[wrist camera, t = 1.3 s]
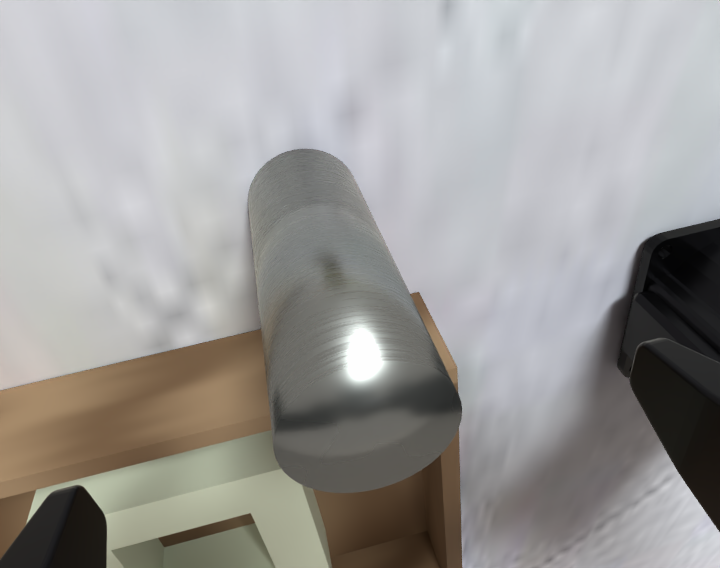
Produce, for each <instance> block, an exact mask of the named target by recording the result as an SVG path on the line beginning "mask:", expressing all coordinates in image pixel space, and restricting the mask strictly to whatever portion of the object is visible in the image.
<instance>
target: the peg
mask: <svg viewBox="0 0 720 568" xmlns="http://www.w3.org/2000/svg"><path fill="white" fill-rule="evenodd" d="M248 210H249V219H250V229H251V238H252V248H253V257H254V267H255V277H256V286H257V296H258V305H259V315H260V324H261V334H262V344H263V353H264V363H265V372H266V382H267V391H268V401H269V411H270V420H271V430H272V439H273V449H274V454H275V458H276V460H277V462H278V464H279V466H280V467H281V469H282V470H283V471H284V473H286V474H287V475H288V476H289V477H290V478H291V479H293V480H294V481H296V482H297V483H299V484H301V485H304V486H306V487H308V488H312V489H315V490H319V491H324V492H332V493H356V492H364V491H370V490H374V489H379V488H382V487H385V486H389V485H392V484H394V483H397V482H399V481H402V480H404V479H406V478H408V477H410V476H412V475H414V474H415V473H417V472H419V471H421V470H422V469H424V468H425V467H426V466H428V465H429V464H431V463H432V462H433V461H434V460H435V459H436V458H438V457H439V456H440V455H441V454H442V453H443V452H444V451H445V449H446V448H447V447H448V446H449V444H450V443H451V441H452V440H453V438H454V437H455V435H456V433H457V430H458V428H459V425H460V421H461V416H462V406H461V401H460V398H459V395H458V392H457V390H456V388H455V386H454V384H453V382H452V380H451V378H450V376H449V374H448V372H447V370H446V368H445V366H444V363H443V361H442V359H441V357H440V355H439V353H438V351H437V349H436V347H435V345H434V343H433V341H432V339H431V337H430V334H429V332H428V330H427V328H426V326H425V324H424V322H423V320H422V318H421V316H420V314H419V312H418V310H417V307H416V305H415V303H414V301H413V299H412V297H411V295H410V293H409V291H408V289H407V287H406V285H405V283H404V281H403V278H402V276H401V274H400V272H399V270H398V268H397V266H396V264H395V262H394V260H393V258H392V256H391V254H390V251H389V249H388V247H387V245H386V243H385V241H384V239H383V237H382V235H381V233H380V231H379V229H378V227H377V225H376V222H375V220H374V218H373V216H372V214H371V212H370V210H369V208H368V206H367V204H366V202H365V200H364V198H363V195H362V193H361V191H360V189H359V187H358V185H357V183H356V181H355V179H354V177H353V175H352V173H351V172H350V170H349V169H348V168H347V166H346V165H345V164H344V163H343V162H341V161H340V160H339V159H337V158H336V157H334V156H332V155H331V154H328V153H326V152H323V151H319V150H314V149H297V150H292V151H288V152H285V153H282V154H280V155H278V156H276V157H274V158H273V159H271V160H270V161H268V162H267V163H266V164H265V165H264V166H263V167H262V168H261V169H260V170H259V171H258V173H257V174H256V176H255V177H254V179H253V181H252V184H251V186H250V189H249V194H248Z"/></svg>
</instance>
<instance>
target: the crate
mask: <svg viewBox="0 0 720 568" xmlns="http://www.w3.org/2000/svg"><path fill="white" fill-rule="evenodd" d="M410 295H411V297H412V299H413V301H414V303H415V305H416V307H417V310H418V312H419V314H420V316H421V318H422V320H423V322H424V324H425V326H426V328H427V330H428V332H429V334H430V337H431V339H432V341H433V343H434V345H435V347H436V349H437V351H438V353H439V355H440V357H441V359H442V361H443V363H444V366H445V368H446V370H447V372H448V374H449V376H450V378H451V380H452V382H453V384H454V386H455V388H456V390H457V392H458V379H457V366H456V364H455V362H454V360H453V358H452V356H451V354H450V352H449V350H448V348H447V346H446V344H445V343H444V341H443V339H442V337H441V335H440V333H439V331H438V329H437V327H436V325H435V323H434V321H433V319H432V317H431V315H430V313H429V311H428V309H427V307H426V305H425V303H424V301H423V299H422V297H421V295H420V293H419V292H417V293H412V294H410ZM269 430H271V420H270V411H269V401H268V391H267V382H266V372H265V363H264V353H263V344H262V334H261V329H260V330H256V331H251V332H247V333H243V334H239V335H234V336H230V337H226V338H222V339H217V340H213V341H209V342H205V343H200V344H196V345H192V346H188V347H183V348H179V349H175V350H171V351H167V352H162V353H158V354H154V355H150V356H145V357H141V358H137V359H133V360H128V361H124V362H120V363H116V364H111V365H107V366H103V367H99V368H94V369H90V370H86V371H82V372H77V373H73V374H69V375H65V376H61V377H56V378H52V379H48V380H44V381H39V382H35V383H31V384H27V385H22V386H18V387H14V388H10V389H5V390H1V391H0V559H1V557H2V556H3V555H4V553H5V552H6V551H7V549H8V548H9V547H10V545H11V544H12V543H13V541H14V540H15V539H16V537H17V536H18V535H19V533H20V532H21V531H22V529H23V528H24V527H25V525H26V523H27V519H28V516H29V512H30V509H31V506H32V502H33V499H34V496H35V492H36V490H37V489H41V488H45V487H49V486H53V485H57V484H61V483H65V482H69V481H73V480H77V479H80V478H84V477H88V476H92V475H96V474H100V473H104V472H108V471H112V470H116V469H120V468H124V467H128V466H132V465H136V464H140V463H143V462H147V461H151V460H155V459H159V458H163V457H167V456H171V455H175V454H179V453H183V452H187V451H191V450H195V449H199V448H202V447H206V446H210V445H214V444H218V443H222V442H226V441H230V440H234V439H238V438H242V437H246V436H250V435H254V434H258V433H262V432H265V431H269ZM313 491H314V494H315V497H316V501H317V504H318V507H319V510H320V514H321V517H322V520H323V523H324V526H325V530H326V536H327V541H328V547H329V553H330V559H331V565H332V568H462V544H461V502H460V461H459V428H458V430H457V433H456V435H455V437H454V438H453V440H452V441H451V443H450V444H449V446H448V447H447V448H446V449H445V451H444V452H443V453H442V454H441V455H440V456H439V457H438V458H436V459H435V460H434V461H433V462H432V463H431V464H429V465H428V466H426V467H425V468H424V469H422V470H421V471H419V472H417V473H415V474H414V475H412V476H410V477H408V478H406V479H404V480H402V481H399V482H397V483H394V484H392V485H389V486H385V487H382V488H379V489H374V490H370V491H364V492H356V493H332V492H324V491H319V490H315V489H313ZM253 523H255V521H254V519H253V517H252V515H251V513H249V514H245V515H241V516H237V517H234V518H230V519H226V520H223V521H219V522H215V523H211V524H208V525H204V526H200V527H196V528H193V529H189V530H185V531H181V532H178V533H174V534H170V535H166V536H163V537H159V538H158V539H159V540H160V542H161V543H162V545H163V546H164V547H168V546H172V545H175V544H179V543H183V542H187V541H190V540H194V539H198V538H201V537H205V536H209V535H212V534H216V533H220V532H224V531H227V530H231V529H235V528H238V527H242V526H246V525H250V524H253Z"/></svg>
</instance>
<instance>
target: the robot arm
mask: <svg viewBox="0 0 720 568" xmlns="http://www.w3.org/2000/svg"><path fill="white" fill-rule="evenodd" d="M662 247H663V248H662ZM617 366H618V368H619V370H620V371H621V372H622V373H623V374H624V376H625V377H630V384H631V388H632V390H633V392H634V394H635V396H636V398H637V399H638V401H639V403H640V405H641V407H642V409H643V410H644V412H645V414H646V416H647V418H648V419H649V421H650V423H651V425H652V427H653V428H654V430H655V432H656V434H657V436H658V437H659V439H660V441H661V443H662V445H663V446H664V448H665V450H666V452H667V454H668V455H669V457H670V459H671V461H672V462H673V464H674V466H675V467H676V469H677V471H678V472H679V474H680V475H681V477H682V478H683V480H684V481H685V483H686V484H687V486H688V487H689V489H690V490H691V492H692V493H693V494H694V496H695V497H696V499H697V500H698V502H699V503H700V504H701V506H702V507H703V509H704V510H705V512H706V513H707V514H708V516H709V517H710V519H711V520H712V522H713V523H714V525H715V526H716V527H717V529H718V530H719V532H720V219H718V220H713V221H709V222H705V223H701V224H696V225H692V226H688V227H684V228H679V229H675V230H671V231H667V232H662V233H659V234H657V235H654V236H653V237H652V238H650V239H649V241H648V242H647V243H646V244H645V247H644V249H643V254H642V258H641V263H640V267H639V271H638V276H637V280H636V285H635V289H634V293H633V298H632V302H631V307H630V311H629V315H628V320H627V324H626V329H625V333H624V337H623V342H622V346H621V351H620V355H619V359H618V364H617ZM0 568H107V522H106V518H105V515H104V513H103V511H102V510H101V508H100V507H99V506H98V504H97V503H96V502H95V500H94V499H93V498H92V496H91V495H90V494H89V492H88V491H87V490H86V489H85V488H84V487H83V486H81V485H74V486H70V487H66V488H62V489H58V490H55V491H53V492H51V493H50V494H49V495H48V496H47V497H46V499H45V500H44V501H43V503H42V504H41V505H40V507H39V508H38V509H37V511H36V512H35V513H34V515H33V516H32V517H31V519H30V520H29V521H28V523H27V524H26V525H25V527H24V528H23V529H22V531H21V532H20V533H19V535H18V536H17V537H16V539H15V540H14V541H13V543H12V544H11V545H10V547H9V548H8V549H7V551H6V552H5V553H4V555H3V556H2V557H1V559H0Z"/></svg>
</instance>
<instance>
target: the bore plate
mask: <svg viewBox="0 0 720 568" xmlns="http://www.w3.org/2000/svg"><path fill="white" fill-rule="evenodd" d="M74 485H81V486H83V487H84V488H85V489H86V490H87V491H88V492H89V494H90V495H91V496H92V498H93V499H94V500H95V502H96V503H97V504H98V506H99V507H100V508H101V510H102V511H103V513H104V515H105V518H106V522H107V568H332V565H331V559H330V553H329V547H328V541H327V536H326V530H325V526H324V523H323V520H322V517H321V514H320V510H319V507H318V504H317V501H316V497H315V494H314V491H313V489H312V488H308V487H306V486H304V485H301V484H299V483H297V482H296V481H294V480H293V479H291V478H290V477H289V476H288V475H287V474H286V473H284V471H283V470H282V469H281V467H280V466H279V464H278V462H277V460H276V458H275V454H274V449H273V439H272V430H269V431H265V432H262V433H258V434H254V435H250V436H246V437H242V438H238V439H234V440H230V441H226V442H222V443H218V444H214V445H210V446H206V447H202V448H199V449H195V450H191V451H187V452H183V453H179V454H175V455H171V456H167V457H163V458H159V459H155V460H151V461H147V462H143V463H140V464H136V465H132V466H128V467H124V468H120V469H116V470H112V471H108V472H104V473H100V474H96V475H92V476H88V477H84V478H80V479H77V480H73V481H69V482H65V483H61V484H57V485H53V486H49V487H45V488H41V489H37V490H36V492H35V496H34V499H33V502H32V506H31V509H30V512H29V516H28V519H27V523H28V521H29V520H30V519H31V517H32V516H33V515H34V513H35V512H36V511H37V509H38V508H39V507H40V505H41V504H42V503H43V501H44V500H45V499H46V497H47V496H48V495H49V494H50V493H51V492H53V491H55V490H58V489H62V488H66V487H70V486H74ZM249 513H251V515H252V517H253V519H254V521H255V523H253V524H250V525H246V526H242V527H238V528H235V529H231V530H227V531H224V532H220V533H216V534H212V535H209V536H205V537H201V538H198V539H194V540H190V541H187V542H183V543H179V544H175V545H172V546H168V547H164V546H163V545H162V543H161V542H160V540H159V539H158V538H159V537H163V536H166V535H170V534H174V533H178V532H181V531H185V530H189V529H193V528H196V527H200V526H204V525H208V524H211V523H215V522H219V521H223V520H226V519H230V518H234V517H237V516H241V515H245V514H249ZM27 523H26V524H27Z"/></svg>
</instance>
